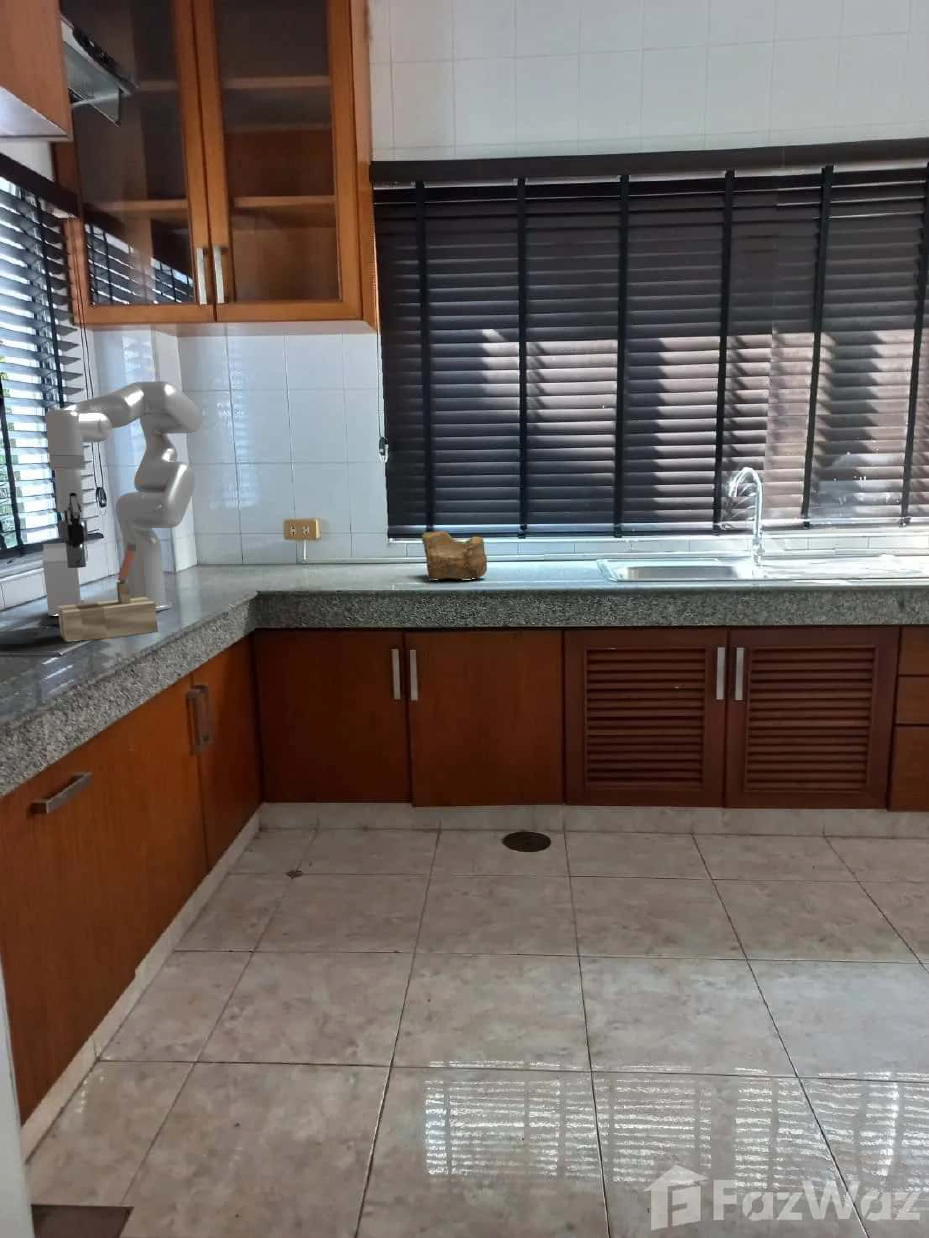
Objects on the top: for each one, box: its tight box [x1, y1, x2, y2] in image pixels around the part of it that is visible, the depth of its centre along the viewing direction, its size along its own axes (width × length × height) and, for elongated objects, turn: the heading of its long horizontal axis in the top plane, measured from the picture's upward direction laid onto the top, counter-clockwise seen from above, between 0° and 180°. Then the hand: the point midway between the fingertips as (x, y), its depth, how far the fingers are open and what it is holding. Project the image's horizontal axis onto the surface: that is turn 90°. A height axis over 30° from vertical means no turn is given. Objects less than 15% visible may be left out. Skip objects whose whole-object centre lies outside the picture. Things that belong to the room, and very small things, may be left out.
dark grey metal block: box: [58, 519, 89, 569], centre depth 201 cm, size 6×6×11 cm
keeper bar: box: [117, 542, 137, 583], centre depth 201 cm, size 5×10×1 cm
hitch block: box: [58, 581, 159, 643], centre depth 200 cm, size 10×20×12 cm, turn 123°
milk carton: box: [41, 542, 82, 616], centre depth 223 cm, size 7×7×19 cm
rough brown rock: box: [421, 530, 488, 580], centre depth 272 cm, size 23×17×15 cm
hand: (74, 540), depth 200 cm, fingers closed on dark grey metal block, 6 cm apart
